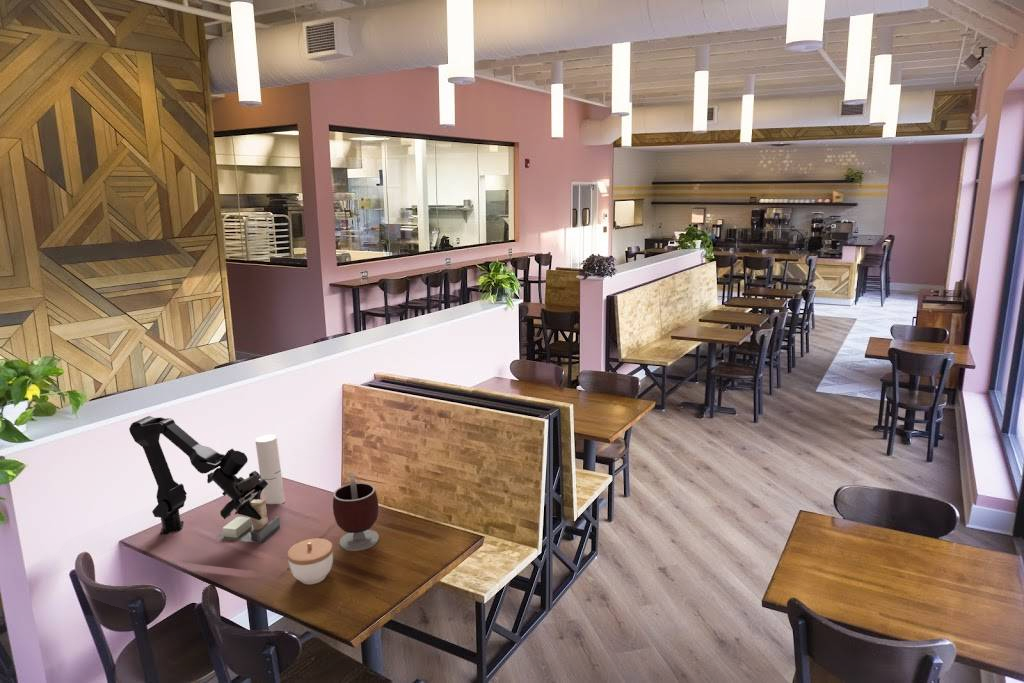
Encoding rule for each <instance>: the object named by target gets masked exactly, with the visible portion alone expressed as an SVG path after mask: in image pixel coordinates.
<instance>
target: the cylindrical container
mask: <svg viewBox="0 0 1024 683" xmlns="http://www.w3.org/2000/svg"><path fill="white" fill-rule="evenodd" d="M254 441H255V448H256V454H257V460H258V461H257V462H258V471H259V474H260V476H261V479H260V480H265V481H266V482H267V483H268V485H267V486H266V487H265V488H264V489H263V491H262V493H261V494H262V498H263V499H262V500H265V503H266V505H274V504H275V505H283V504H282V503H283V502H284V501H285V502H286V499H285V490H284V484H283V483H284V482H283V478H282V469H281V461H280V455H279V454H280V453H279V446H278V438H277V435H275V434H265V435H261V436H258V437H256V438H255V440H254Z"/></svg>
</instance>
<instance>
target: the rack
mask: <svg viewBox="0 0 1024 683" xmlns="http://www.w3.org/2000/svg"><path fill="white" fill-rule="evenodd" d="M282 527H283V526H282V525H281V521H280V516H274V518H272V519H271V520H270V521H268V524H266V525H265V526H264V527H263V528H262V529H260V530H253V523H252V526H251V527H250V528H249V529H247V530H246V531H245V532H244V533H242V534H241V535H240V536H239V537H237V538H234V537H224V536H223V531H221V532H220V533H219V534H217V535H216V536H215V537H214V539H217V540H218V539H219V540H228V541H237V542H247V543H255V544H256V543H257V544H264V543H265V542H266V541H267V540H268V539H269V538H270V537H272V536H273V535H274V534H275V533H276V532H278V531H279V530H280V529H281V528H282Z"/></svg>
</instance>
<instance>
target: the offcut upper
mask: <svg viewBox="0 0 1024 683" xmlns="http://www.w3.org/2000/svg"><path fill="white" fill-rule="evenodd" d="M250 522H252V518H251V517H248V516H240V515H238V516H236V517H235V518H234V519H233V520H230V522H229V523H227V524H226V525H224V526H223V527H222V532H225V533H235V534H236V533H238V532H239V531H240V530H242V529H243V528H244V527H245V526H247V525H248V524H249V523H250Z"/></svg>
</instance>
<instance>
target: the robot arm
mask: <svg viewBox="0 0 1024 683" xmlns="http://www.w3.org/2000/svg"><path fill="white" fill-rule="evenodd" d="M128 430H129V433H130V435H131V437H132V439H133V440H134V442H135V443H136V444H138V445H139V446H140V447H142V449H143V452H144V454H145V457H146V460H147V461H148V464H149V466H150V469H151V472H152V475H153V477H154V479H155V482H156V485H157V492H156V500H157V505H156V506H155V507H154V508H153V509H152V511H151V512H152V514H153V516H154V518H160V521H161V529H160V532H159V533H160V535H165V534H169V533H175V532H180V531H182V530H183V526H184V524H185V523H184V520H181V516H180V509H182V508H183V507H184V506H185V503H186V500H187V495H188V493H187V492H186V490H185V487H184V484H183V483H180V484H179V483H178V482H176V481H175V480H174V478H173V475H172V472H171V470H170V468H169V464H168V462H167V460H166V457H165V455H164V451H163V449H162V446H161V443H160V439H161V438H160V436H161V435H162V436H164V437H165V438H166V439H168V440H169V441H170V442H171V443H172V444H174V446H175V447H177V448H178V449H179V450H181V451H182V452H183V453H184V454H185V455H186V456H188V458H189V460H190V464H191V465H192V467H193V468H195V470H196V471H197V472H199V473H200V474H207V479H206V480H207V484H210V483H212V482H214V483H215V484H216V485H217V486H218V487H219V489H221V490H222V491H223V492H222V496H224V497H225V496H226V495H227V496H228V497H229V498H230V499H231V500H230V501H228V502H227V503H226V504H225V505H224V506H223V508H222V509H221V510H220V512H219V514H220V517H221V518H223V519H224V520H226V519H227V518H229V517H231V515H232V513H233V511H234V510H235V512H234V516H235V515H239V516H243V517H249V518H251V519H252V518H254V519H257V520H260V519H261V516H260V515H259V514H258V513H257V511H256V510H255V509H254V508H253V507H252V506H251V504H250V502H251V501H252V500H254V499H259V500H262V499H261V494H263V493H262V491H263V489H264V488H265V487H266V486H267V485H268V483H267V482H266V481H265V480H261V476H260V472H258V471H256V470H254V471H251V472H250V473H248V477H247V478H244V477H241V476H239V477H237V476H236V475H237V474H238V473H239V472H240V471H241V470H242V469H243V468H244V467H245V465H247V463H248V460H249V459H248V457H247V455H246V453H245V452H242V451H240V450H235V449H234V448H230V449H229V450H227V451H226V453H225V454H223V453H219V452H218V451H216V450H215V449H213V448H211V447H209V446H206V445H203V444H201V443H199V442H198V441H197V440H195V439H194V438H193V437H192V436H191V435H190V434H188V432H186V431H185V430H184V429H182V428H181V427H180V426H179V425H177V424H176V422H175V420H174V419H173V418H168V417H167V418H165V417H162V416H161V417H154V416H151V415H148V416H146V417H143V418H141V419H139V420H136V421H134V422H132V423H131V424H130V426H129V429H128ZM212 471H213V472H212Z"/></svg>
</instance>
